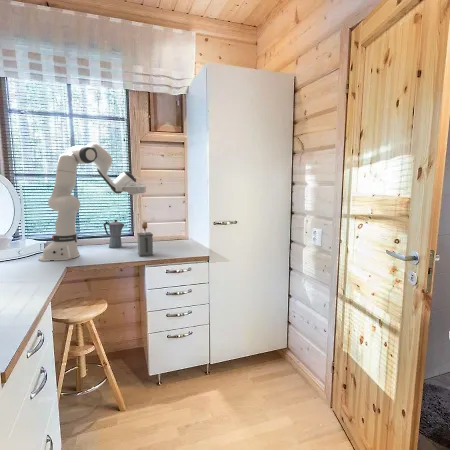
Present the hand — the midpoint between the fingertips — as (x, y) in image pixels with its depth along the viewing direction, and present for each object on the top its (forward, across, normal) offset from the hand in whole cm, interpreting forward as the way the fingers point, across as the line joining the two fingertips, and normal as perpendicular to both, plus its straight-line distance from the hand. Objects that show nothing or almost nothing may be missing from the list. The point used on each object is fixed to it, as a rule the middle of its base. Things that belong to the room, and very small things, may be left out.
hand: (129, 189), depth 210 cm
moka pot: (-10, -13, +42) cm, 45 cm away
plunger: (+16, +11, +40) cm, 45 cm away
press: (+17, +11, +42) cm, 47 cm away
